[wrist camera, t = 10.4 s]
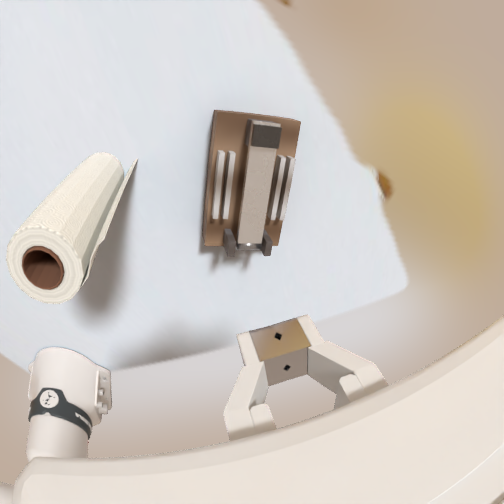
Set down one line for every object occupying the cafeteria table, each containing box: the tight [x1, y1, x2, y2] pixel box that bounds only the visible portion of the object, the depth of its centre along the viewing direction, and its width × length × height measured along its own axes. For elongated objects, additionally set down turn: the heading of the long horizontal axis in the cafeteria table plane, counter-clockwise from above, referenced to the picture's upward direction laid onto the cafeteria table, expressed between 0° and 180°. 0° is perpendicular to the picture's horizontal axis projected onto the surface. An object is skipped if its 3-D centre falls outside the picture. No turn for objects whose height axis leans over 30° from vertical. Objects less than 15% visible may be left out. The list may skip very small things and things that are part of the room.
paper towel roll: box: [6, 152, 138, 304], centre depth 25 cm, size 7×6×21 cm
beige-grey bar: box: [236, 120, 282, 250], centre depth 34 cm, size 16×3×2 cm, turn 172°
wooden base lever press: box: [203, 110, 301, 256], centre depth 36 cm, size 17×10×6 cm, turn 172°
